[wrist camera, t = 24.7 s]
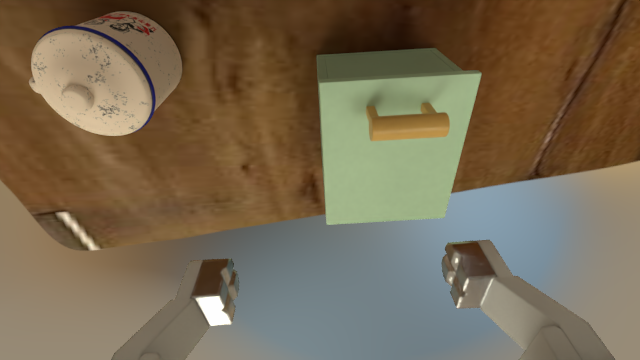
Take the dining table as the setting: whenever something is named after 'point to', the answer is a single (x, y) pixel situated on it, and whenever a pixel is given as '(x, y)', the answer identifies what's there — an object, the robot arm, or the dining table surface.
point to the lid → (393, 143)
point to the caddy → (381, 66)
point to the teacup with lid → (107, 71)
